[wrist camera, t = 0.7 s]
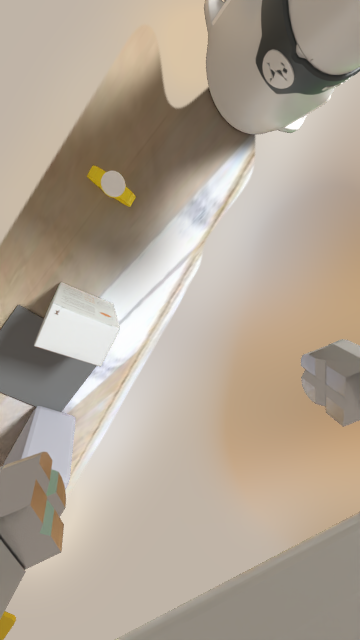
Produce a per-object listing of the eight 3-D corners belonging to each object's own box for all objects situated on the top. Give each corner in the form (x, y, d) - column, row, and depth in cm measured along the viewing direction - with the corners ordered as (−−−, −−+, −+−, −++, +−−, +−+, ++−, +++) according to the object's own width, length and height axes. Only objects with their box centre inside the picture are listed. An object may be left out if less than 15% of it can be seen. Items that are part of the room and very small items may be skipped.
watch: (85, 184, 36) (80, 176, 31) (96, 165, 36) (93, 153, 30) (126, 212, 38) (128, 210, 33) (136, 194, 38) (141, 189, 32)
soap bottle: (44, 468, 48) (5, 669, 28) (4, 460, 46) (-75, 676, 25) (77, 415, 46) (61, 589, 25) (36, 403, 43) (-19, 586, 23)
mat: (18, 304, 38) (17, 305, 38) (105, 352, 44) (105, 353, 44) (-33, 376, 40) (-34, 378, 39) (58, 414, 46) (58, 415, 45)
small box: (45, 315, 40) (30, 346, 30) (60, 280, 39) (50, 301, 29) (98, 334, 43) (100, 368, 34) (114, 303, 42) (121, 328, 33)
